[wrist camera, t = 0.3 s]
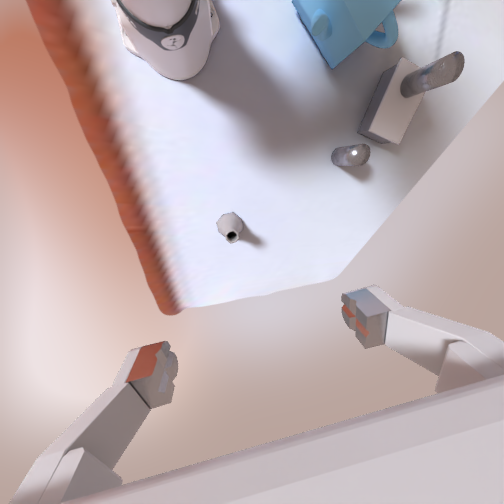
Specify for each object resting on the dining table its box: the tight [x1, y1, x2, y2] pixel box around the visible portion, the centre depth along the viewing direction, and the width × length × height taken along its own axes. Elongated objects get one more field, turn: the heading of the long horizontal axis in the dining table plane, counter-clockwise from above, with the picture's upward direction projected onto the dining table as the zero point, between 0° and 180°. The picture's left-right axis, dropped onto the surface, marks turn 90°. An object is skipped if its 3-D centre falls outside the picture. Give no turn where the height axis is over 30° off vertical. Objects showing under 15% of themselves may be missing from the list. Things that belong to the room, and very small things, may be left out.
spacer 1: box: [331, 144, 370, 166], centre depth 49 cm, size 4×4×9 cm
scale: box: [357, 57, 425, 144], centre depth 48 cm, size 14×9×6 cm, turn 163°
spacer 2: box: [400, 51, 464, 98], centre depth 40 cm, size 4×4×9 cm
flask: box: [216, 212, 243, 243], centre depth 51 cm, size 7×7×10 cm
